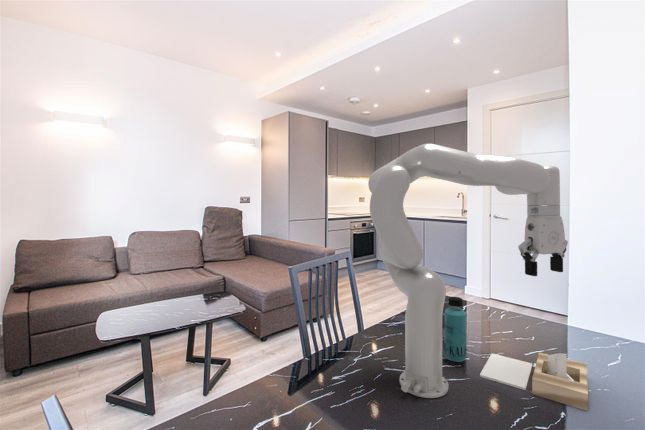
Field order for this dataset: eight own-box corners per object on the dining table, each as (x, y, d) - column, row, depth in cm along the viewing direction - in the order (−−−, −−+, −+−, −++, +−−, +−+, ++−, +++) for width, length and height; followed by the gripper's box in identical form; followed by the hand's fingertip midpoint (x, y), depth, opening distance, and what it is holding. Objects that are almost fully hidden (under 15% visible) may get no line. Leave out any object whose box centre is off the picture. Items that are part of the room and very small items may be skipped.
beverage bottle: (449, 354, 104) (449, 293, 104) (470, 361, 100) (470, 297, 99) (439, 362, 100) (439, 297, 99) (461, 369, 95) (461, 302, 94)
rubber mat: (525, 390, 84) (525, 388, 84) (479, 376, 91) (479, 374, 91) (532, 365, 97) (532, 363, 97) (491, 355, 104) (491, 353, 104)
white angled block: (567, 391, 80) (558, 353, 84) (549, 391, 88) (542, 356, 92) (584, 393, 79) (574, 354, 83) (565, 392, 88) (557, 357, 92)
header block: (587, 410, 76) (588, 394, 76) (532, 394, 83) (532, 378, 83) (586, 377, 90) (586, 363, 90) (538, 365, 97) (539, 352, 97)
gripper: (532, 213, 83) (533, 279, 84) (579, 210, 89) (580, 272, 89) (507, 213, 90) (508, 274, 91) (552, 210, 96) (552, 267, 97)
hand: (544, 273), depth 90 cm, fingers open, 9 cm apart
